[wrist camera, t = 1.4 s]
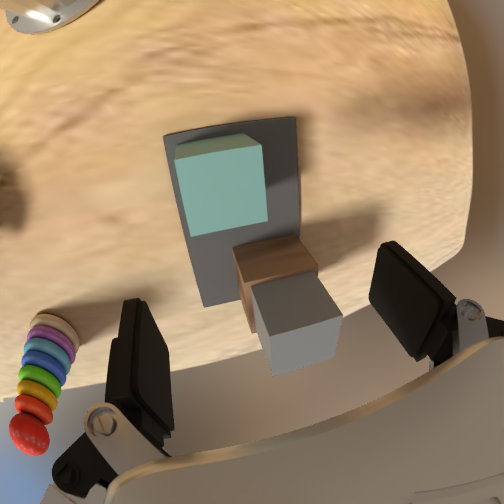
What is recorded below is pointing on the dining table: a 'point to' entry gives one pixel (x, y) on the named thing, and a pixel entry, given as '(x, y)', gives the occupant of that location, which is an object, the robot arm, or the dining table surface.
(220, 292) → the mat
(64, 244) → the dining table surface
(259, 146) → the teal cube
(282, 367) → the tower mid
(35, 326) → the stacking toy
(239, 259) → the tower base
